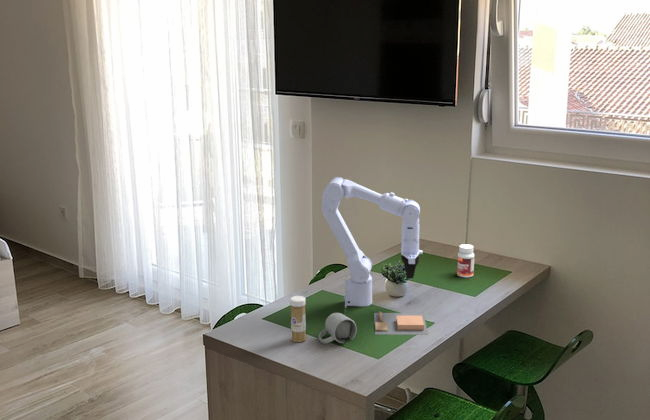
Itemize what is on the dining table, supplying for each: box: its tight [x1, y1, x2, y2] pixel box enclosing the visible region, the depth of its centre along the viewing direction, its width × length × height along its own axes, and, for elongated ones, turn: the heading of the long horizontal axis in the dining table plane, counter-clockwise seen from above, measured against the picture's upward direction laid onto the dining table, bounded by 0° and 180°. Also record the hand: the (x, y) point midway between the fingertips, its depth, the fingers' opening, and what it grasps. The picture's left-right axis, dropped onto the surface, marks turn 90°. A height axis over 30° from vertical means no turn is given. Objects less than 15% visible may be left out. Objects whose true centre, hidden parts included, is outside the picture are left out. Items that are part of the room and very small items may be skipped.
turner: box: [374, 311, 387, 331], centre depth 217 cm, size 4×12×1 cm, turn 177°
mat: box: [373, 312, 429, 336], centre depth 217 cm, size 16×16×1 cm
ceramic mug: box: [317, 312, 358, 345], centre depth 207 cm, size 11×8×8 cm
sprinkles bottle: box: [289, 295, 307, 343], centre depth 207 cm, size 5×5×14 cm
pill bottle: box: [456, 243, 475, 278], centre depth 257 cm, size 6×6×11 cm
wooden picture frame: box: [397, 316, 424, 330], centre depth 215 cm, size 8×2×7 cm
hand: (409, 277), depth 228 cm, fingers closed
